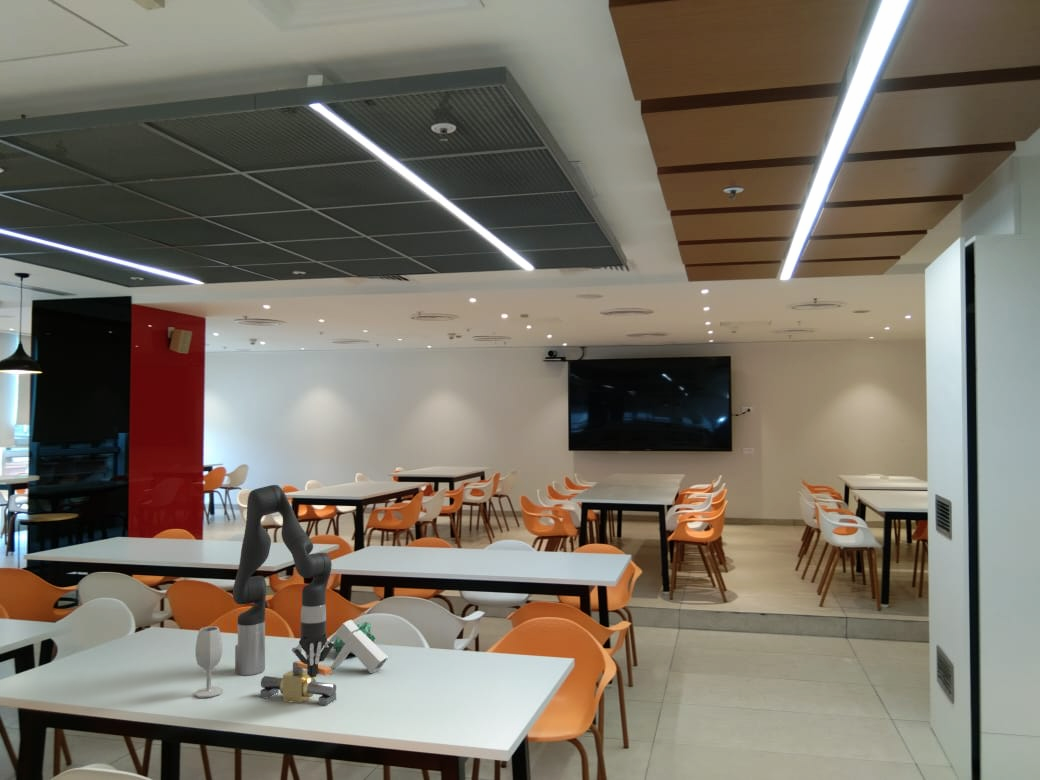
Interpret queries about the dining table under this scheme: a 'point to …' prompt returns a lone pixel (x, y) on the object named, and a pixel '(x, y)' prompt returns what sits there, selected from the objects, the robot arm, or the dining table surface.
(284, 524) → the robot arm
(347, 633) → the faucet
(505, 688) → the dining table surface
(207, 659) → the wineglass
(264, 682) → the valve
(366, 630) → the mineral
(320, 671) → the lever
